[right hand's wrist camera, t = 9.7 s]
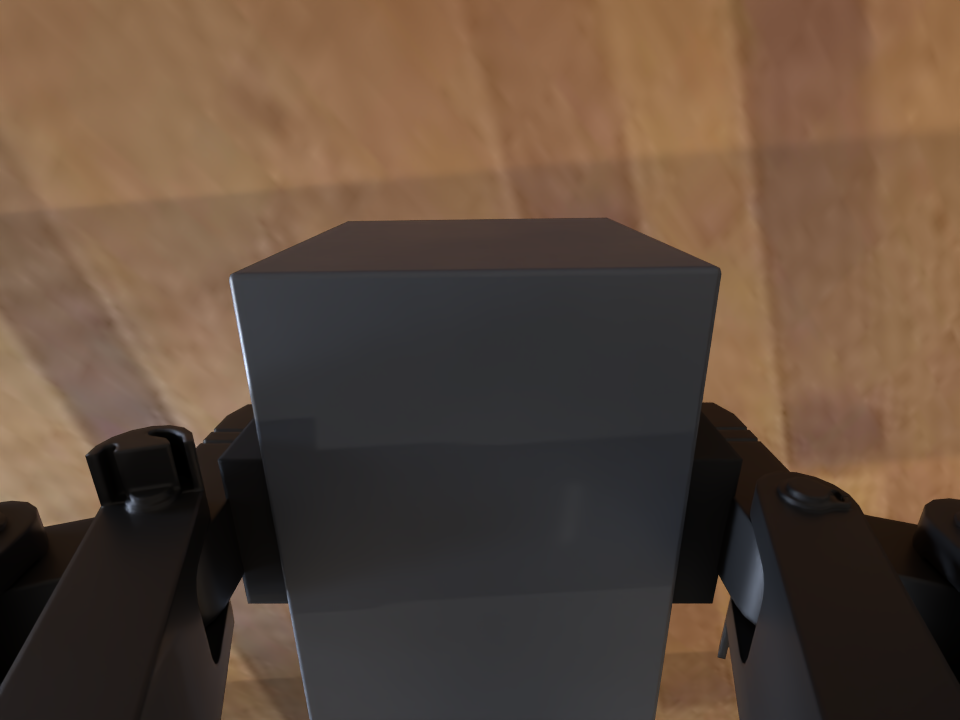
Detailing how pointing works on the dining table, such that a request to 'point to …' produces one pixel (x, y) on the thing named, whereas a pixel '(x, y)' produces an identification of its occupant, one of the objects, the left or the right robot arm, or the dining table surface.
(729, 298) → the dining table surface
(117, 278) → the dining table surface
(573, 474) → the grey beam
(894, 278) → the dining table surface
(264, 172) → the dining table surface
